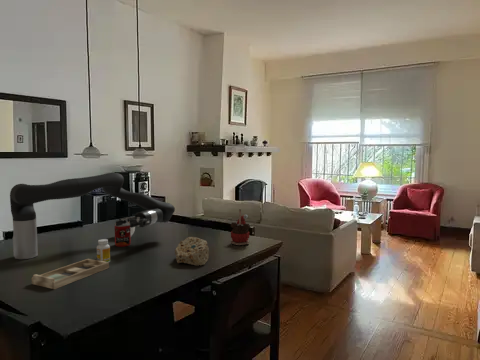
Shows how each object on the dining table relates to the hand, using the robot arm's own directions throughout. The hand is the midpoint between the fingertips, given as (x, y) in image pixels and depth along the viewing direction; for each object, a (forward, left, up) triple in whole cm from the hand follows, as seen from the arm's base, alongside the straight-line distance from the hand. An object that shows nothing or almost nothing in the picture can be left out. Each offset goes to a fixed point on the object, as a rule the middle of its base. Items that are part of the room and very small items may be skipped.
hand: (123, 224), depth 175 cm
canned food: (-13, +13, -14) cm, 24 cm away
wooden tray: (+2, -31, -14) cm, 34 cm away
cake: (+40, +41, -14) cm, 59 cm away
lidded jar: (-24, +27, -14) cm, 39 cm away
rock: (+32, +8, -15) cm, 36 cm away
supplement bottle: (0, -13, -14) cm, 19 cm away
